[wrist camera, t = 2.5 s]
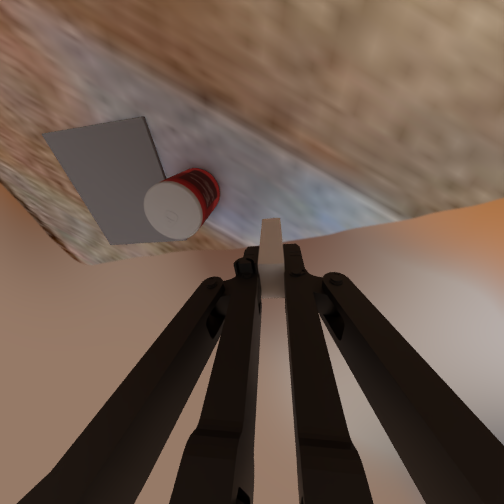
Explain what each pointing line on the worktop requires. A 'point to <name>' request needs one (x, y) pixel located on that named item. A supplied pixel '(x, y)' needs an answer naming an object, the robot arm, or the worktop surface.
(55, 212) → the worktop surface
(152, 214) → the canned food
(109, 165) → the rubber mat
